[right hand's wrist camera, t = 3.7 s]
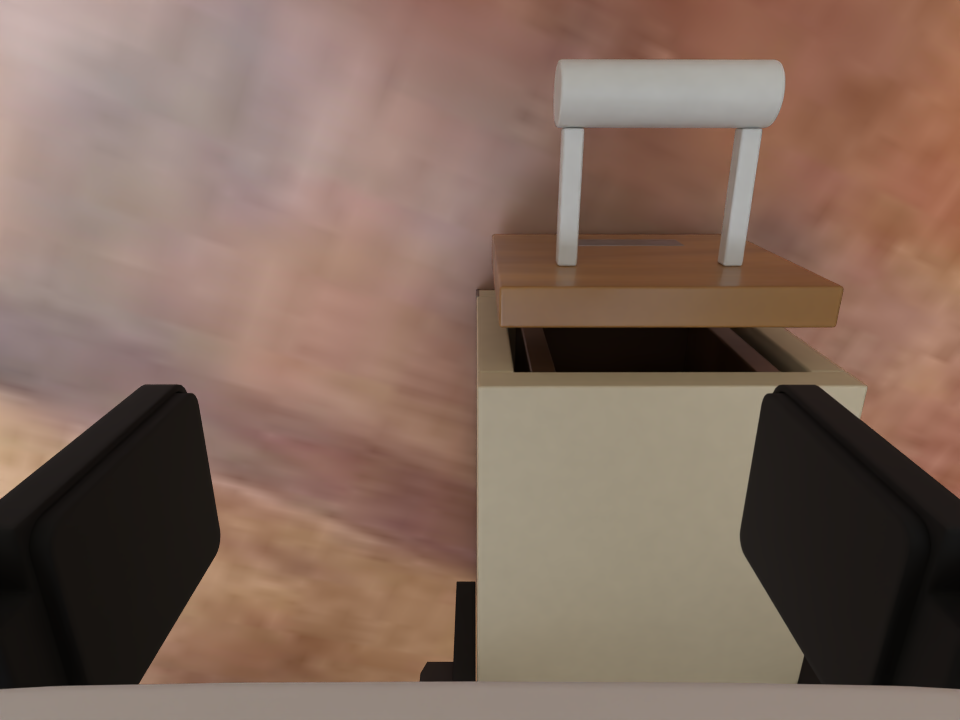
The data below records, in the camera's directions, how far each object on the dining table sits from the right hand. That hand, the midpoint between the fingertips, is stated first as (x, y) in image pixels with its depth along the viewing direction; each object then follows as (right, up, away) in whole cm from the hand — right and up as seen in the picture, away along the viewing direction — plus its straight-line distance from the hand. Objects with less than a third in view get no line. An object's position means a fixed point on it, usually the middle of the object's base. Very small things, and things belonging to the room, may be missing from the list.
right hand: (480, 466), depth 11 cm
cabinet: (+5, -2, +19) cm, 20 cm away
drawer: (+5, +3, +16) cm, 17 cm away
